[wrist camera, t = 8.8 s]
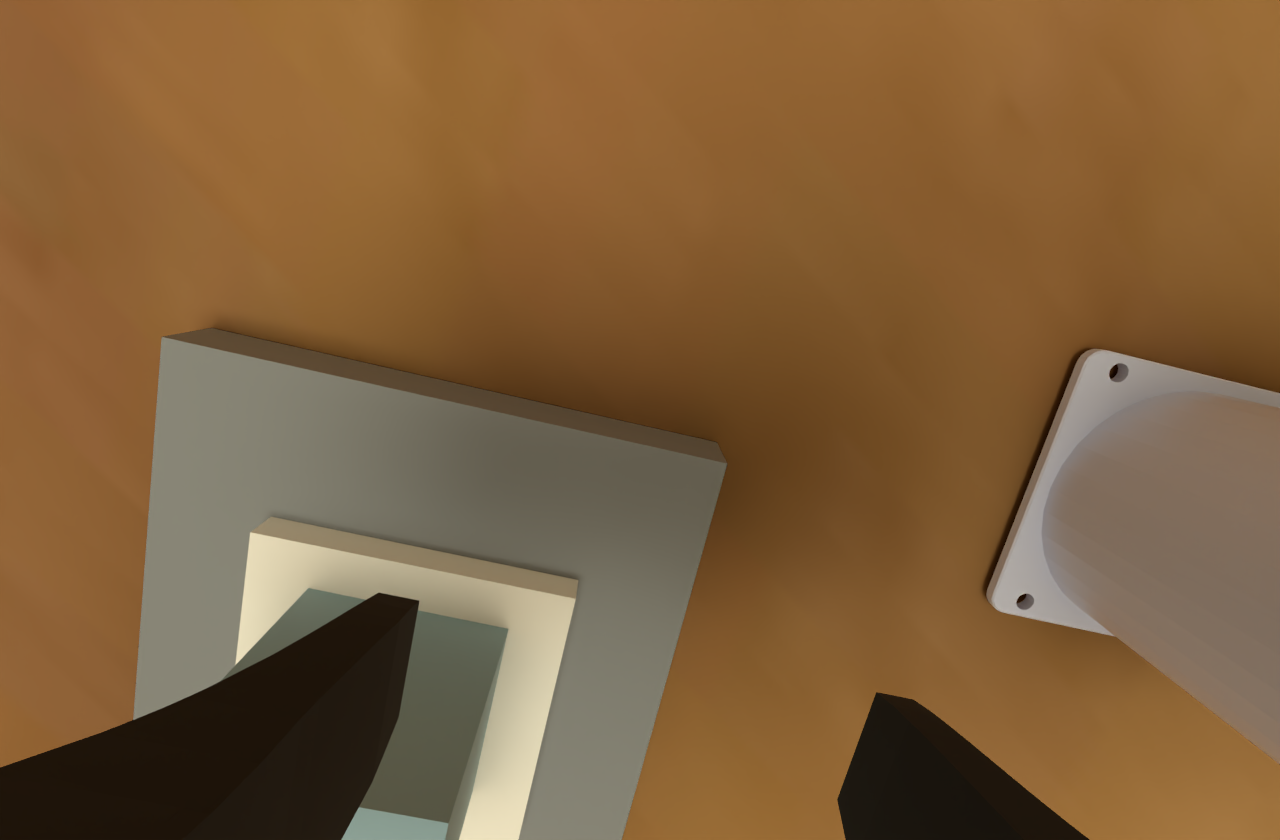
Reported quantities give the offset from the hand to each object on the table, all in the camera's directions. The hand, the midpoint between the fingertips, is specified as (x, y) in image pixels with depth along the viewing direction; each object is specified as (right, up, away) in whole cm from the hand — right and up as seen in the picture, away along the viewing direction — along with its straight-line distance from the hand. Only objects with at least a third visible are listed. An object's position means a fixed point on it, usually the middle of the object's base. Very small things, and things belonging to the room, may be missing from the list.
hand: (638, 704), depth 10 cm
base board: (-6, -2, +10) cm, 12 cm away
